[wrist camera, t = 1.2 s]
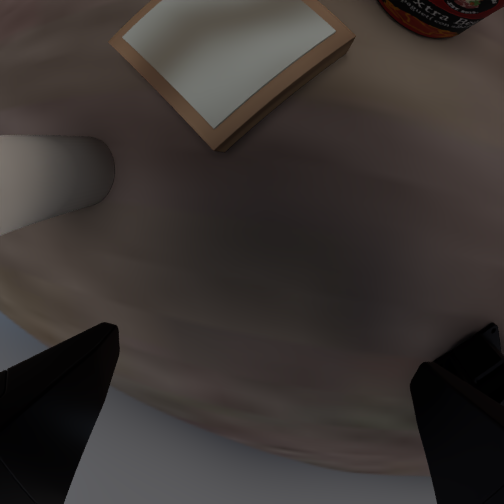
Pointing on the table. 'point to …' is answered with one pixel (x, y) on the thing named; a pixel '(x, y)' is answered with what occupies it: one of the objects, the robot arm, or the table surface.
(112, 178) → the tumbler
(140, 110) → the table surface
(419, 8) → the canned food
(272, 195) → the table surface
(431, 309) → the table surface
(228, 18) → the plinth
